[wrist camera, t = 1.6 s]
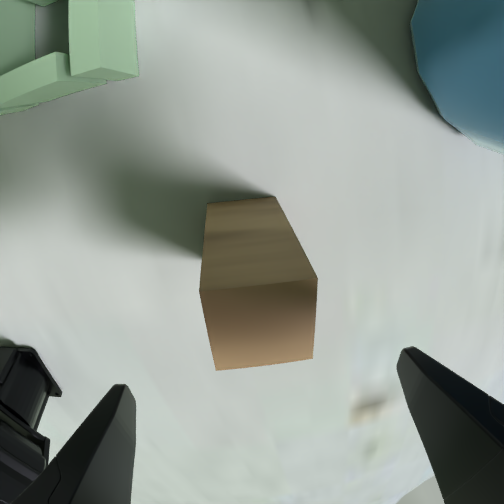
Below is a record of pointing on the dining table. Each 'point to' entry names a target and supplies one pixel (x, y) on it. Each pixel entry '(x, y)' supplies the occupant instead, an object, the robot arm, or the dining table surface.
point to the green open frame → (60, 64)
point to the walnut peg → (256, 286)
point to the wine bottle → (463, 64)
